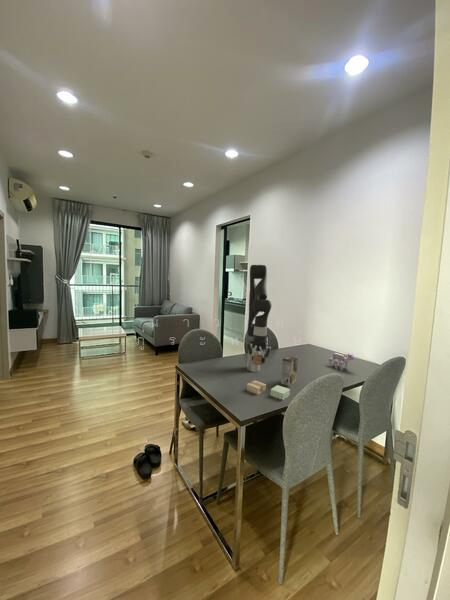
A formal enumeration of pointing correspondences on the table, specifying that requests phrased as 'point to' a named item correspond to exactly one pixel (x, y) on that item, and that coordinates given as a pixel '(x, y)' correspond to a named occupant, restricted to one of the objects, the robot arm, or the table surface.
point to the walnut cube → (257, 359)
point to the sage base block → (280, 392)
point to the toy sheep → (341, 359)
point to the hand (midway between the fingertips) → (258, 362)
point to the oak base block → (256, 387)
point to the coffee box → (289, 370)
